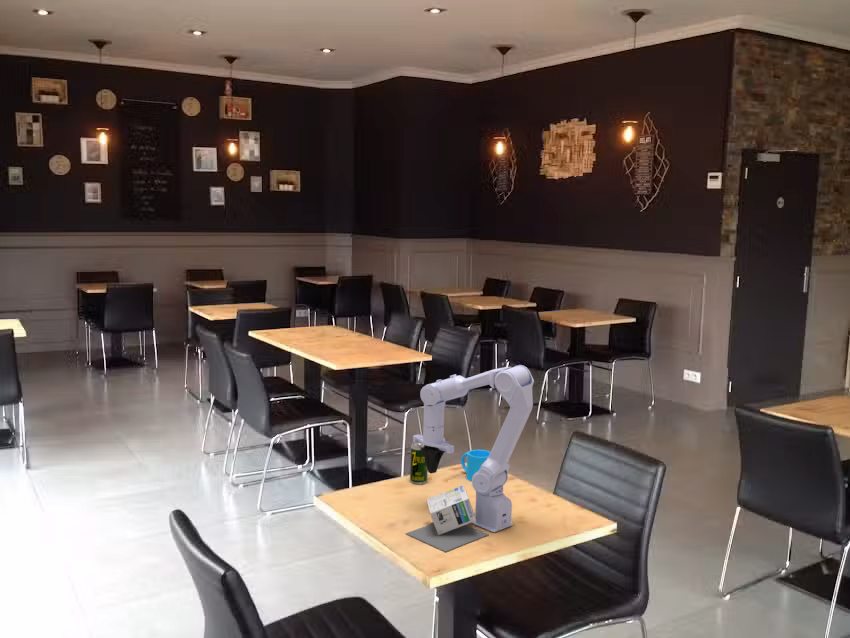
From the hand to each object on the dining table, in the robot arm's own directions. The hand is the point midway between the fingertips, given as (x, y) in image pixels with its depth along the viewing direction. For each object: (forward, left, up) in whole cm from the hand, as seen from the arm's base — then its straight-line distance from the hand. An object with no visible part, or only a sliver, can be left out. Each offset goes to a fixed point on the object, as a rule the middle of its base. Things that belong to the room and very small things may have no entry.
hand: (432, 472), depth 223 cm
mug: (+10, -29, -11) cm, 32 cm away
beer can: (+18, -12, -11) cm, 24 cm away
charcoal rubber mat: (-16, +10, -10) cm, 22 cm away
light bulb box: (-11, +11, -7) cm, 17 cm away
